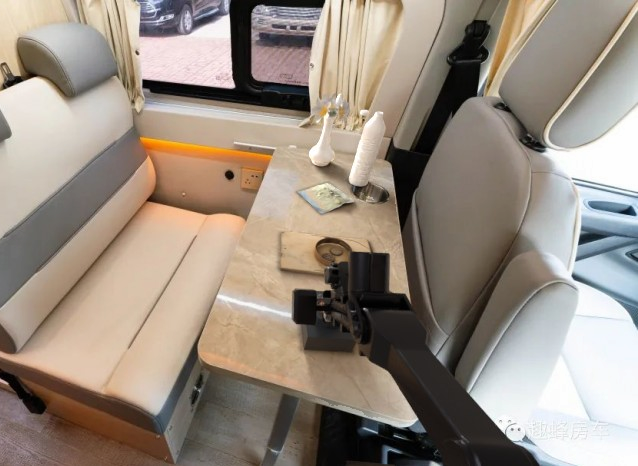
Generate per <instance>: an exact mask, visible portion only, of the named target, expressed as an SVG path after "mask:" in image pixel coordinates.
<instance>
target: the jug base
mask: <svg viewBox="0 0 638 466" xmlns="http://www.w3.org/2000/svg"><path fill="white" fill-rule="evenodd" d="M324 291H325V290H316V293H317V297H318V298H322V294H323V292H324ZM317 304H320V302H319V303H317ZM300 330H301V338H302V347H303V350H305V351H319V352H320V351H321V352H336V353H353V351H354V349H355V348H356V346H357V343H356V342H355V340H354V339H353V335H352V333H342V332H341V331H340V327H334V326H333V323H325V322H323V321H322V313H321V312H320V311H317V314H316V324H315V325H300Z"/></svg>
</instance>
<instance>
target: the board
mask: <svg viewBox="0 0 638 466" xmlns="http://www.w3.org/2000/svg"><path fill="white" fill-rule="evenodd" d="M349 251H355V252H373V251H372V247H371V245H370V241H369V240H368V239H364V238H354V237H353V238H352V237H340V236H333V235H332V236H331V235H321V234H313V233H305V232H296V231H288V230H287V231H285V230H282V231H281V233H280V260H279V261H280V262H279V270H280V271H283V272H291V273H292V272H293V273H301V274H309V275H317V276H324V269H325V268H326V267H329V265H330V263H339V262H341V261H348V254H349Z"/></svg>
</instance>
